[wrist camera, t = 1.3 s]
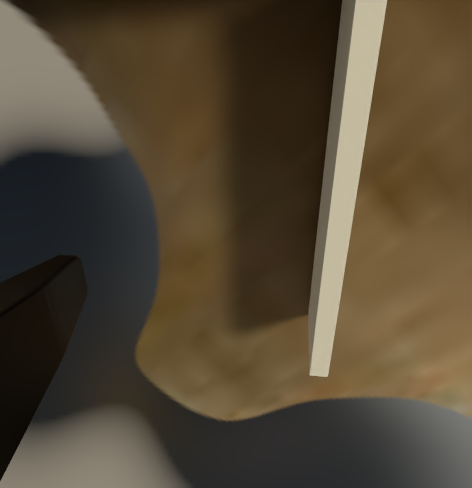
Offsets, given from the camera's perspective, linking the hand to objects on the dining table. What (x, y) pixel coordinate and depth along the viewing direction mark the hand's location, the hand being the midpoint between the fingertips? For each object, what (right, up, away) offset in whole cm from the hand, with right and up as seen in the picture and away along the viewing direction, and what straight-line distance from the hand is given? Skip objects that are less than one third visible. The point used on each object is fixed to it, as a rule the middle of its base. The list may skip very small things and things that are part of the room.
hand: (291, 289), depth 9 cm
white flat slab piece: (+4, +4, +12) cm, 13 cm away
